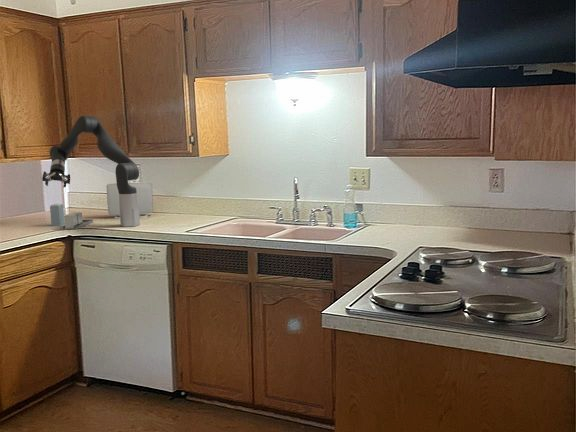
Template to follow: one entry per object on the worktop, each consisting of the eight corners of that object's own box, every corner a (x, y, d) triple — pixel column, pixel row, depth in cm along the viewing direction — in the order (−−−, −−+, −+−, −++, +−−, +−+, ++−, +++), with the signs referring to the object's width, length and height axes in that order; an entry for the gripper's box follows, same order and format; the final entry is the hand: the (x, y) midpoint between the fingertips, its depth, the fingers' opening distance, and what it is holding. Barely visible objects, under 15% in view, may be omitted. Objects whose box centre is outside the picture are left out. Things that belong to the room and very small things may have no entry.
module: (56, 224, 320) (54, 203, 318) (64, 224, 320) (62, 203, 318) (51, 226, 314) (49, 205, 312) (59, 226, 314) (58, 204, 312)
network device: (108, 219, 335) (106, 184, 332) (108, 217, 344) (106, 183, 341) (154, 216, 343) (152, 182, 340) (152, 214, 351) (150, 181, 348)
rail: (79, 222, 325) (78, 209, 324) (92, 222, 325) (92, 208, 324) (62, 229, 302) (61, 215, 301) (77, 229, 302) (76, 214, 301)
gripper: (44, 161, 325) (41, 178, 312) (71, 164, 330) (70, 181, 318) (43, 172, 329) (41, 189, 317) (70, 175, 334) (69, 192, 322)
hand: (55, 185), depth 317 cm, fingers open, 8 cm apart
